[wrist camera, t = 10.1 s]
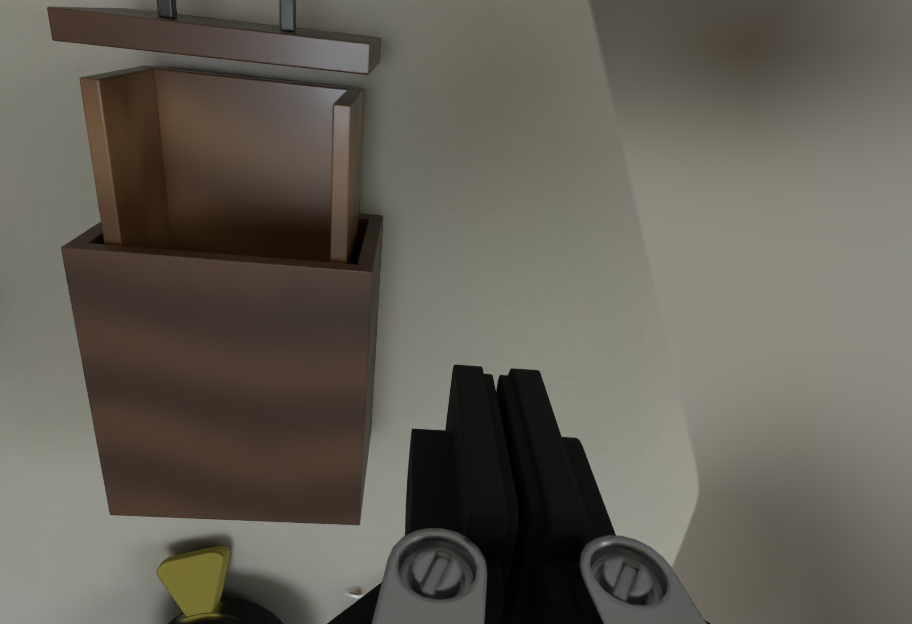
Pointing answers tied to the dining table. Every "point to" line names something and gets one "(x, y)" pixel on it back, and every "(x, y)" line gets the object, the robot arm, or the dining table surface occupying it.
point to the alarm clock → (207, 590)
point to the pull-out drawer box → (224, 135)
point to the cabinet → (228, 378)
